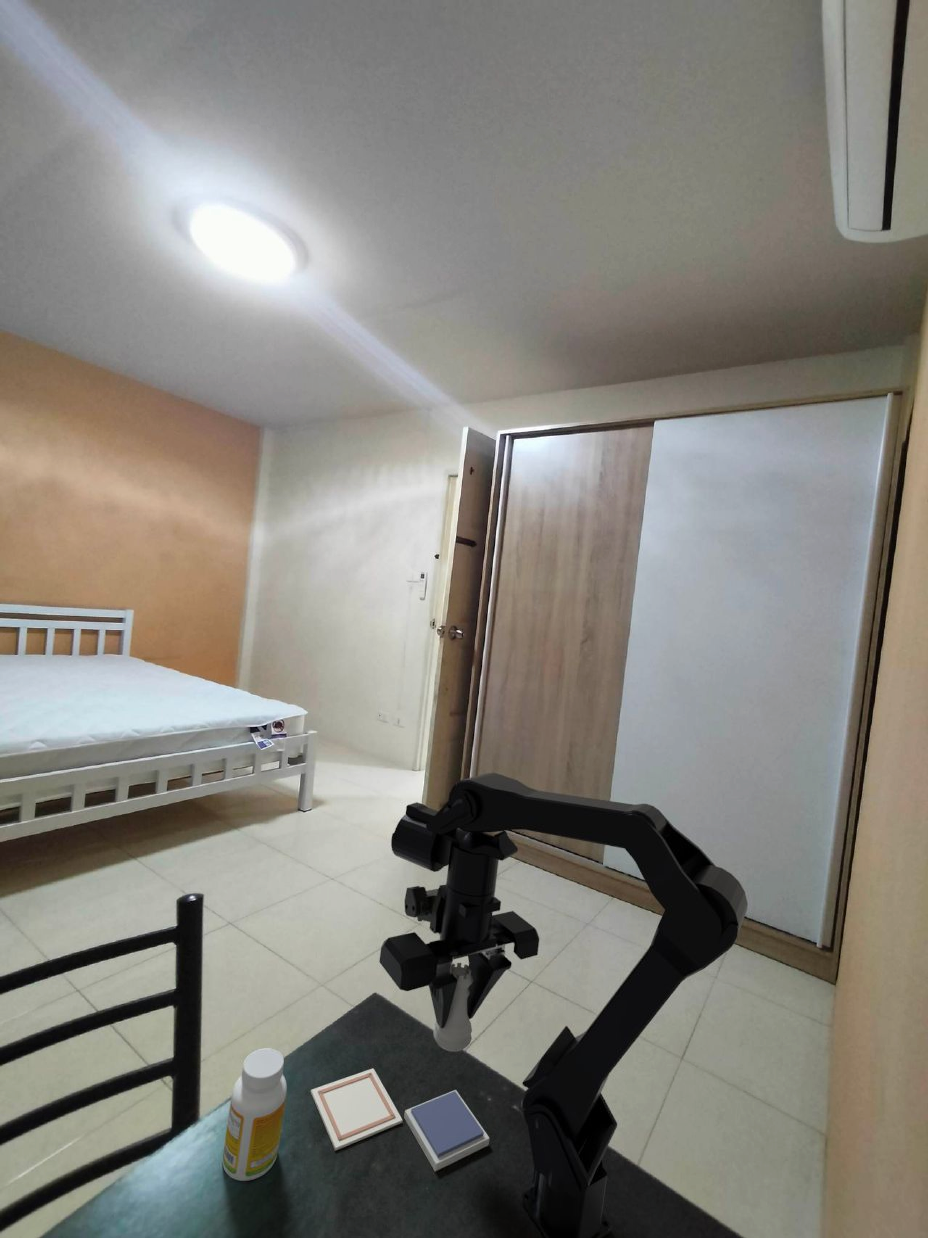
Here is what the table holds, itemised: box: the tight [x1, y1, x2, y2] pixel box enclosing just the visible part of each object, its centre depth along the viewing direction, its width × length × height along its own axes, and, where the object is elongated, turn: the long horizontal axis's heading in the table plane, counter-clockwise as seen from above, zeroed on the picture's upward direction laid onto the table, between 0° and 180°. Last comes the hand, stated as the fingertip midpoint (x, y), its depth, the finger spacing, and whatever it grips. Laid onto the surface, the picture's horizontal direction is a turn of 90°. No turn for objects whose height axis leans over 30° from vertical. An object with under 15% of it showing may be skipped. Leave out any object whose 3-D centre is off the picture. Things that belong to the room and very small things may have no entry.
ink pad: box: [403, 1089, 490, 1172], centre depth 63 cm, size 7×7×1 cm
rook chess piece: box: [433, 962, 473, 1053], centre depth 65 cm, size 4×4×8 cm
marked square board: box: [310, 1068, 403, 1152], centre depth 65 cm, size 8×8×1 cm
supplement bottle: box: [222, 1047, 288, 1182], centre depth 57 cm, size 5×5×10 cm
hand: (454, 1021), depth 65 cm, fingers closed on rook chess piece, 3 cm apart
